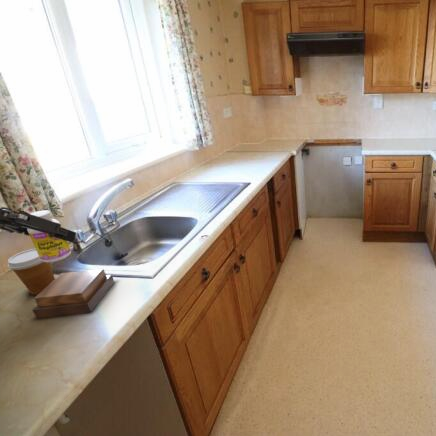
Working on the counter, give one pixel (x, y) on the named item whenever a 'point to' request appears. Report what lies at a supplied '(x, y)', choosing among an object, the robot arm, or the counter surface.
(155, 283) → the counter surface
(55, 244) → the supplement bottle
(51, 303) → the board stack
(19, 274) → the disposable coffee cup
